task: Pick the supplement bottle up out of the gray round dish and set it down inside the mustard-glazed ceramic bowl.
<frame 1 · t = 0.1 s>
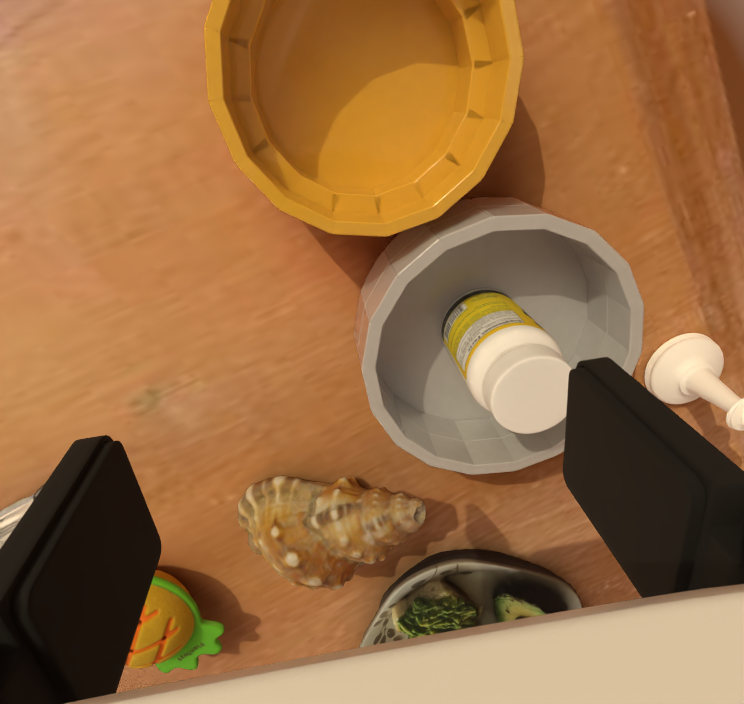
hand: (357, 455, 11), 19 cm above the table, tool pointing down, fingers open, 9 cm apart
toy car: (38, 515, 33), on the table
seashell: (326, 492, 35), on the table
toy pineapple: (164, 588, 37), on the table
salad plate: (468, 618, 42), on the table
chess piece: (678, 366, 34), on the table
supplement bottle: (477, 323, 31), resting on gray round dish
gray round dish: (476, 322, 31), on the table
yellow bowl: (357, 83, 25), on the table
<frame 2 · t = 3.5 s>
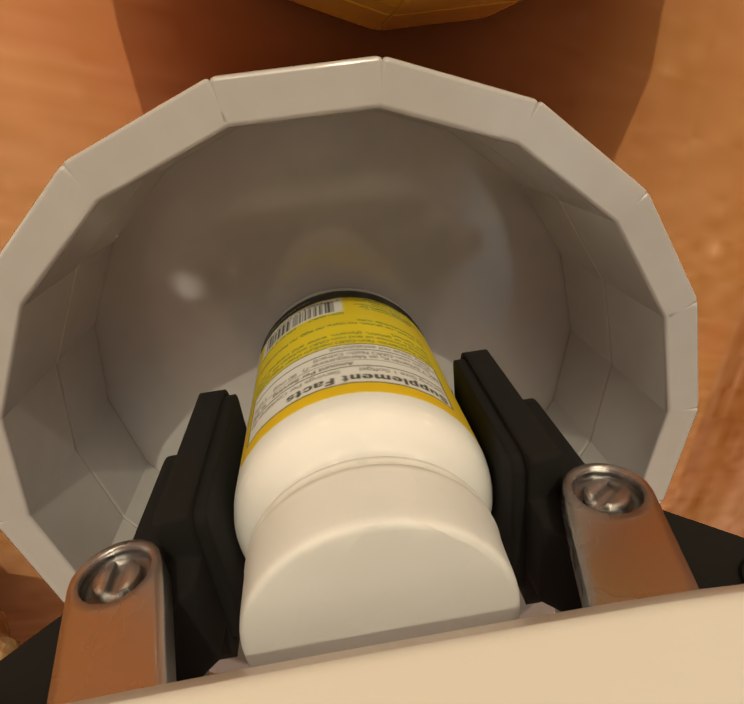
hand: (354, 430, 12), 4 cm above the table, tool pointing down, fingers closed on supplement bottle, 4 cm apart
supplement bottle: (344, 359, 15), resting on gray round dish, touching gripper
gray round dish: (343, 356, 15), on the table
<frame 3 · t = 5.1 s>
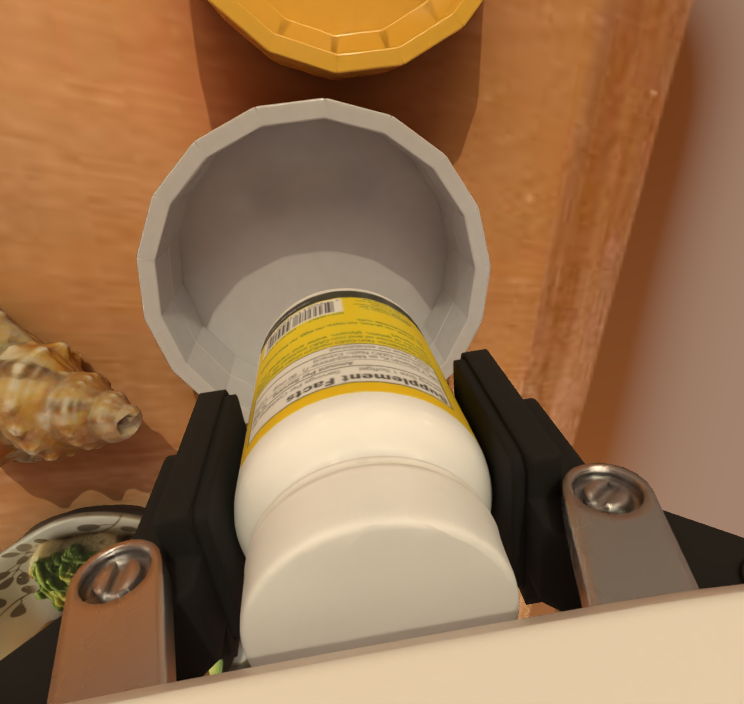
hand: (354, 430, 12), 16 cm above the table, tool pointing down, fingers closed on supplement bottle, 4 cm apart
seashell: (37, 359, 27), on the table
salad plate: (128, 603, 34), on the table
supplement bottle: (344, 359, 15), point 12 cm above the table, touching gripper
gray round dish: (317, 260, 26), on the table
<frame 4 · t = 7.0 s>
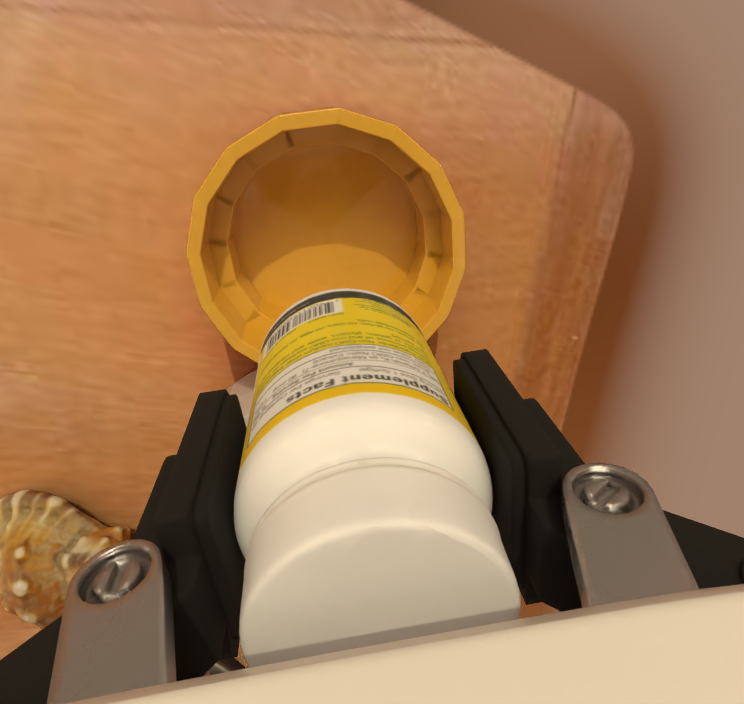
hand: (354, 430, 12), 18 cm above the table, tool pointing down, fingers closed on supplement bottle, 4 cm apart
seashell: (95, 527, 34), on the table
salad plate: (159, 693, 42), on the table
supplement bottle: (344, 360, 15), point 14 cm above the table, touching gripper
gray round dish: (313, 456, 34), on the table
yellow bowl: (327, 235, 28), on the table
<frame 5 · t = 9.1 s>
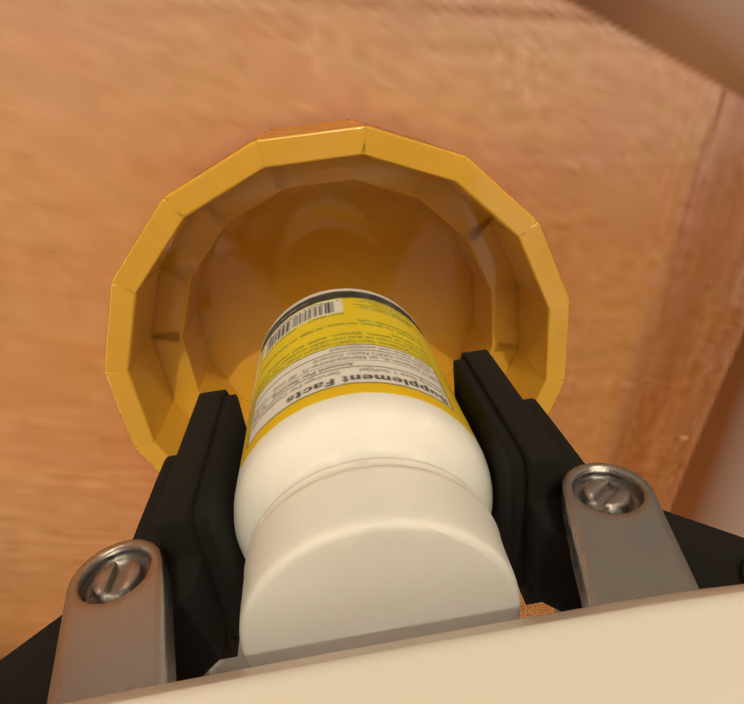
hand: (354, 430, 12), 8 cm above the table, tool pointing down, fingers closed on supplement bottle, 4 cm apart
supplement bottle: (344, 360, 15), point 4 cm above the table, touching gripper
gray round dish: (318, 593, 25), on the table
yellow bowl: (338, 309, 18), on the table
when the fingers open (4 cm above the table, at t = 10.5 s): supplement bottle stays where it is, resting on yellow bowl.
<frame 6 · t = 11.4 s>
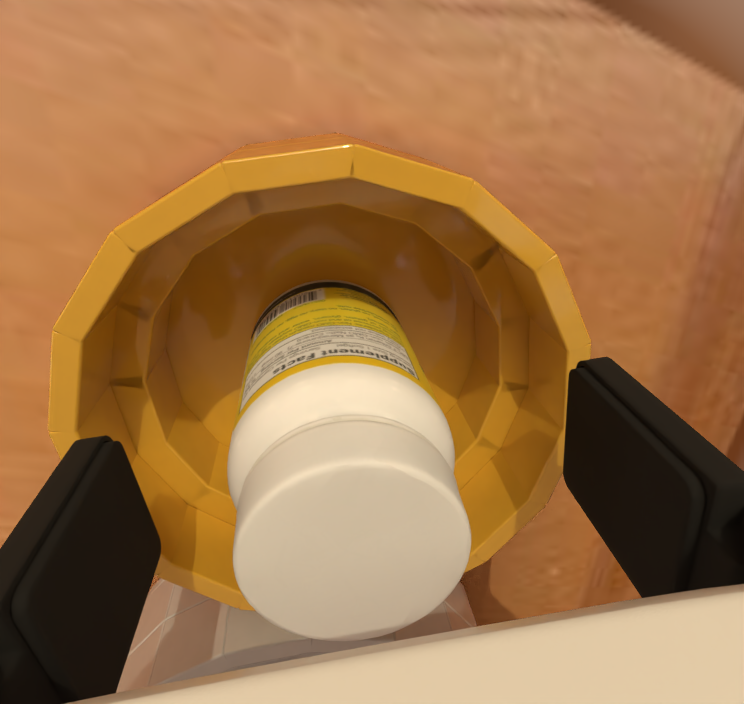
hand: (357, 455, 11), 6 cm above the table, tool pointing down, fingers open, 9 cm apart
supplement bottle: (328, 346, 16), resting on yellow bowl
gray round dish: (307, 645, 22), on the table
yellow bowl: (326, 343, 17), on the table
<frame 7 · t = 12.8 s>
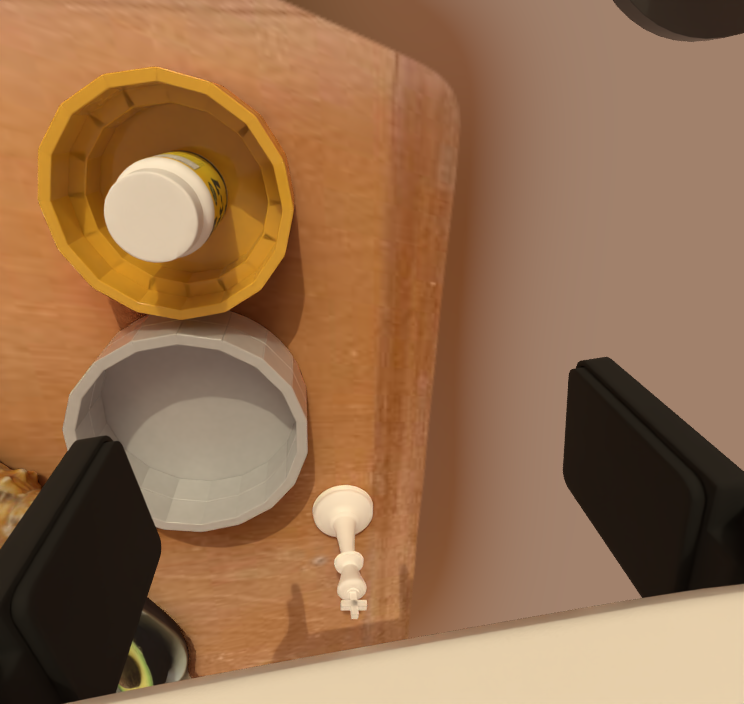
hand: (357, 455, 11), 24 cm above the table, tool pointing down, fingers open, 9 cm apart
seashell: (6, 474, 37), on the table
salad plate: (86, 640, 45), on the table
chess piece: (342, 507, 42), on the table
supplement bottle: (188, 192, 31), resting on yellow bowl
gray round dish: (203, 401, 37), on the table
yellow bowl: (188, 191, 31), on the table
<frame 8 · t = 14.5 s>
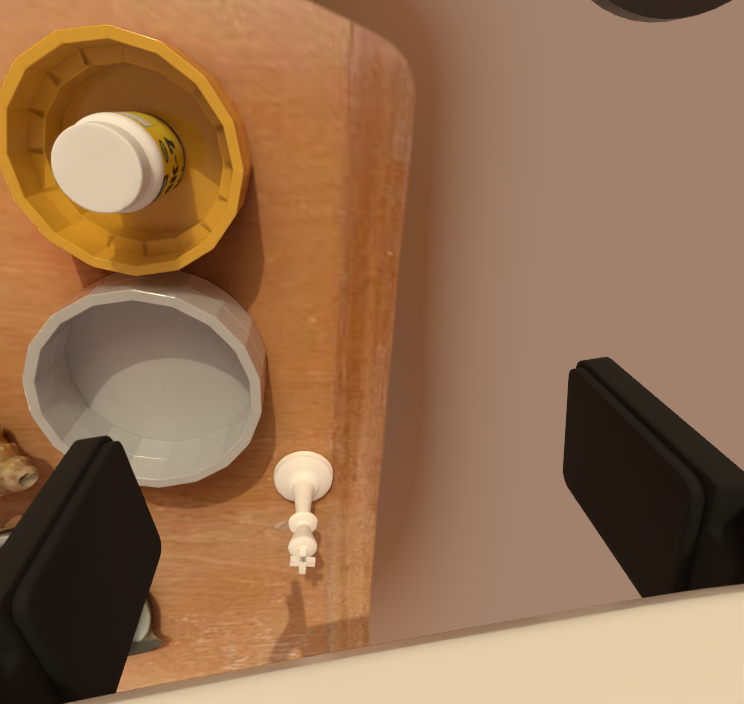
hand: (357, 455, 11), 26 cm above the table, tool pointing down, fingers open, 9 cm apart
salad plate: (54, 595, 46), on the table
chess piece: (303, 473, 44), on the table
supplement bottle: (148, 154, 31), resting on yellow bowl
gray round dish: (165, 363, 38), on the table
yellow bowl: (148, 153, 32), on the table
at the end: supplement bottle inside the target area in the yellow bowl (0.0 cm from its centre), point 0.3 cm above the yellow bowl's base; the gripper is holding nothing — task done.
